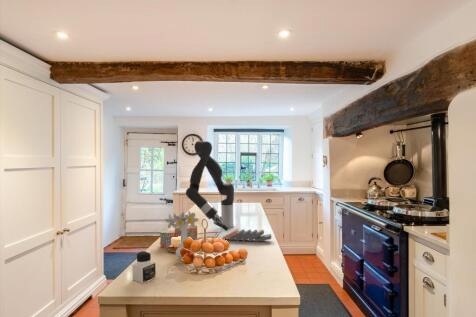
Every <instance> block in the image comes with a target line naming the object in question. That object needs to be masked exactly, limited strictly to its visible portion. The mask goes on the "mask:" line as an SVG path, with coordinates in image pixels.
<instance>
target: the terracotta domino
mask: <svg viewBox="0 0 476 317" xmlns="http://www.w3.org/2000/svg"><path fill="white" fill-rule="evenodd" d="M239 231H240V230H239V229H238V228H236V229H235V230H233V231H231V232H228V233H227V234H225V235H224V236H223V237H222V239H223V240H224V239H226V240H228V239H229V238H230V237H232V236H234V235H236V234H238V232H239Z"/></svg>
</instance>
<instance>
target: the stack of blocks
mask: <svg viewBox="0 0 476 317" xmlns="http://www.w3.org/2000/svg"><path fill="white" fill-rule="evenodd" d="M159 234H160V235H159V236H160V238H159V240H160V241H159V242H160V243H159V244H160V247H159V248H165V249H166V248H167V249H169V248H168V247H169V246H170V245H171V238H172V237H178V236H181V230H179V228H178V226H177V227H176V228H174V229H163V230H162V231H160V233H159ZM189 236H190V237H191V238H192V239H193V240H196V239H197V240H198V225H195V226H194V227H192V226H191V224H188V226H187V237H189Z"/></svg>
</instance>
